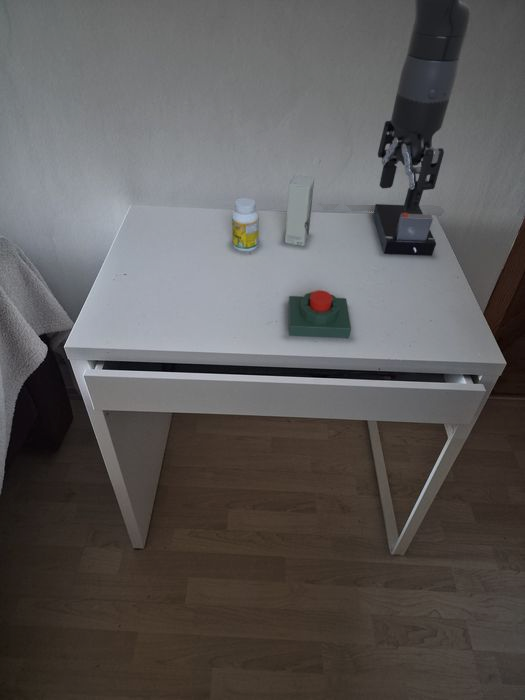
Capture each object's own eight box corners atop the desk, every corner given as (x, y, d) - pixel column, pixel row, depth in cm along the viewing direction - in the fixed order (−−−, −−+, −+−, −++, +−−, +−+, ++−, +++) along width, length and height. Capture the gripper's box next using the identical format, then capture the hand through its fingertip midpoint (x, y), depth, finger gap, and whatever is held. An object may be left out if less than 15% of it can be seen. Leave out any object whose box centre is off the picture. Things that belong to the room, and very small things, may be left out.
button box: (344, 307, 80) (347, 289, 77) (348, 338, 74) (353, 320, 71) (288, 305, 80) (290, 287, 77) (288, 336, 74) (290, 317, 71)
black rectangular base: (436, 266, 90) (441, 252, 87) (386, 264, 90) (389, 250, 87) (416, 217, 103) (419, 204, 101) (372, 215, 104) (375, 203, 101)
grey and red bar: (424, 236, 92) (431, 213, 88) (425, 241, 91) (433, 217, 87) (395, 235, 92) (401, 212, 88) (396, 239, 91) (402, 216, 87)
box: (304, 247, 93) (310, 188, 84) (283, 243, 94) (288, 185, 85) (309, 234, 97) (315, 176, 88) (289, 231, 98) (293, 173, 88)
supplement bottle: (262, 248, 93) (264, 205, 86) (240, 254, 91) (239, 211, 84) (250, 236, 96) (250, 193, 89) (228, 242, 94) (226, 199, 87)
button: (330, 298, 76) (331, 290, 74) (331, 312, 73) (333, 304, 72) (308, 298, 76) (309, 289, 74) (309, 311, 73) (310, 303, 72)
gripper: (475, 105, 60) (439, 215, 72) (421, 77, 70) (396, 178, 81) (427, 109, 59) (397, 221, 70) (378, 79, 68) (359, 182, 80)
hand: (397, 198), depth 76 cm, fingers open, 8 cm apart
